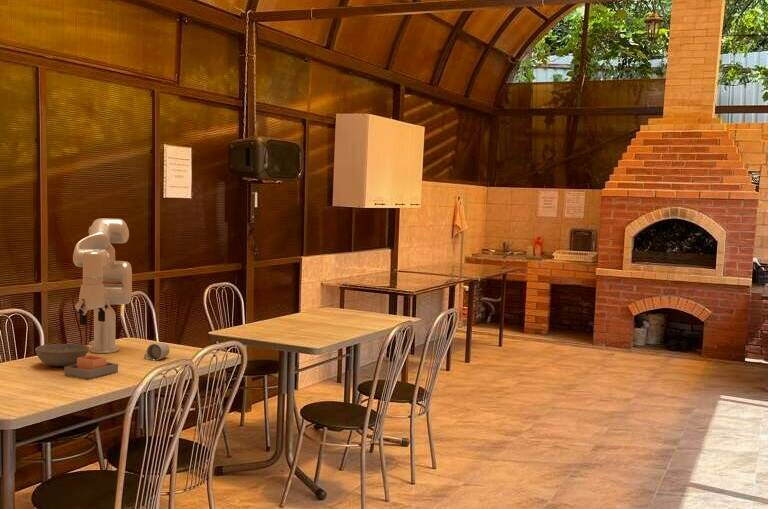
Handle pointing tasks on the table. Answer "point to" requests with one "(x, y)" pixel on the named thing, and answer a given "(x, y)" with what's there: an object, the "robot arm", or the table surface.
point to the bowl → (61, 353)
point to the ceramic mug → (157, 351)
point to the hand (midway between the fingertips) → (92, 322)
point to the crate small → (91, 362)
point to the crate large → (90, 371)
